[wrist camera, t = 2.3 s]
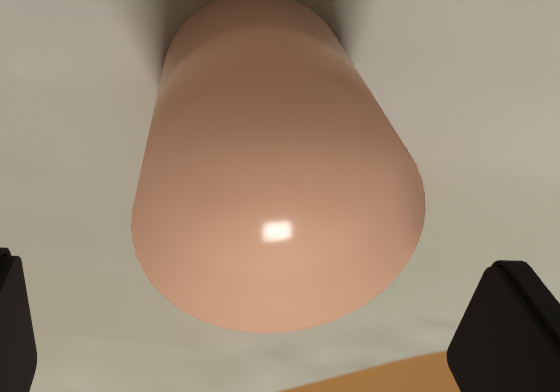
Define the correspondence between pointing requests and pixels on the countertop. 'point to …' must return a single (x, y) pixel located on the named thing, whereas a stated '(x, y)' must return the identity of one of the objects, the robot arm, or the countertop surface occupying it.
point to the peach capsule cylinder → (271, 174)
